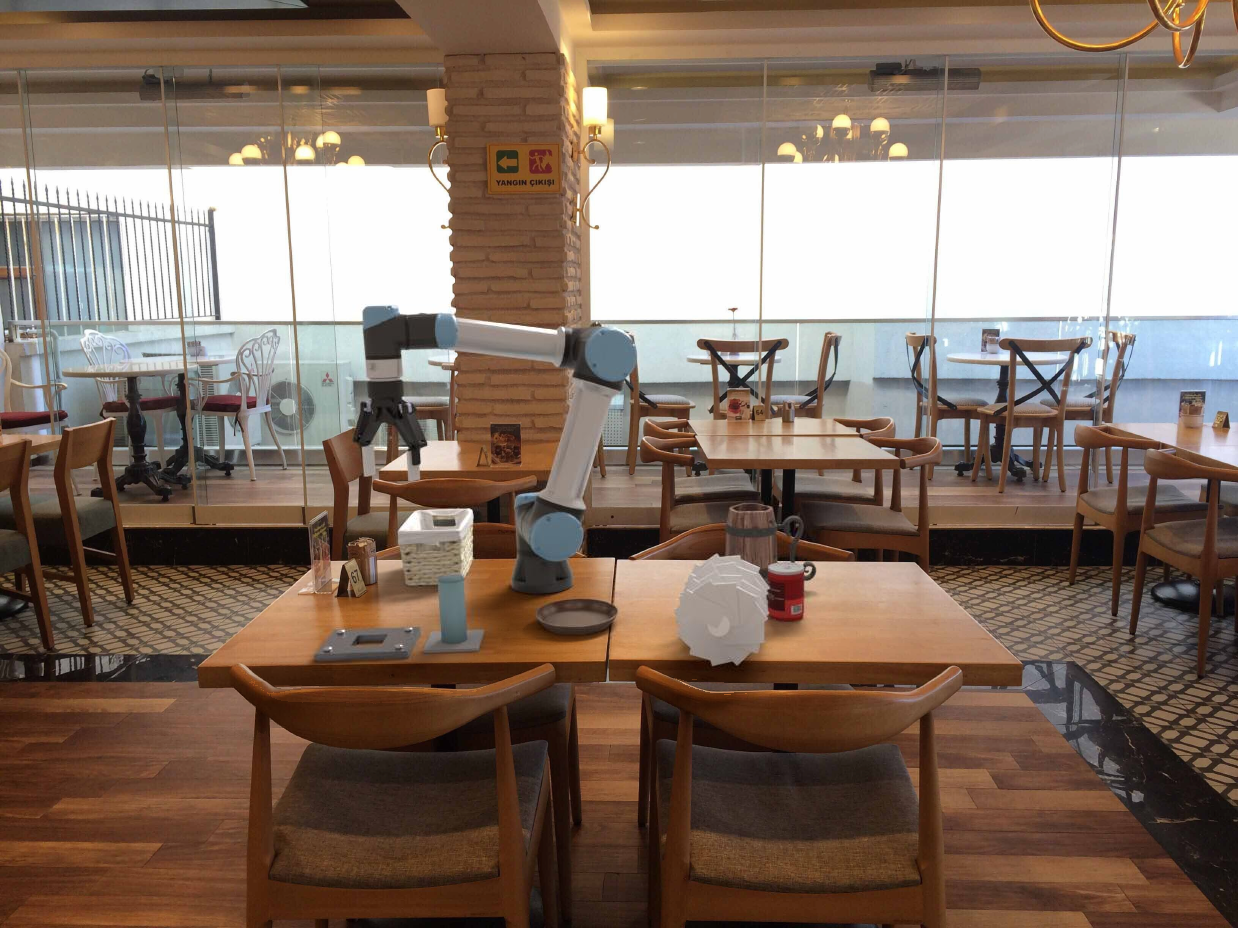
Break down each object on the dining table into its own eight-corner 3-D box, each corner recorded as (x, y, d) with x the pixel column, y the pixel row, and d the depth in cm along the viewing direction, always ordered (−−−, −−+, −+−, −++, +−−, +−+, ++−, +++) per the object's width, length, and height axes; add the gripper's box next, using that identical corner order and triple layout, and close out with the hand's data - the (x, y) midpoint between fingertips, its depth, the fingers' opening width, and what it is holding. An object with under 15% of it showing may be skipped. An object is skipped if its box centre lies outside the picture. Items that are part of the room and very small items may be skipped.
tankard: (717, 601, 214) (716, 516, 211) (713, 580, 231) (712, 500, 227) (821, 600, 213) (822, 514, 209) (810, 579, 229) (810, 498, 226)
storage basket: (464, 586, 231) (461, 528, 229) (398, 588, 231) (394, 530, 228) (477, 560, 255) (474, 507, 252) (417, 562, 255) (414, 509, 252)
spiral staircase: (746, 647, 196) (743, 689, 172) (670, 609, 198) (656, 646, 173) (785, 570, 193) (787, 602, 169) (707, 533, 195) (698, 559, 170)
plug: (468, 634, 195) (465, 574, 193) (465, 643, 190) (461, 581, 188) (443, 635, 195) (439, 574, 193) (439, 644, 190) (435, 582, 188)
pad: (484, 632, 198) (484, 629, 198) (478, 651, 187) (478, 648, 187) (432, 633, 198) (431, 631, 198) (422, 653, 187) (422, 650, 187)
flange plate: (420, 633, 198) (419, 624, 198) (407, 658, 184) (407, 648, 184) (334, 636, 198) (333, 627, 197) (315, 661, 184) (314, 651, 184)
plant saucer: (624, 635, 195) (624, 621, 194) (539, 642, 192) (538, 628, 191) (611, 608, 212) (611, 595, 211) (533, 614, 209) (532, 601, 209)
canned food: (806, 611, 205) (806, 562, 204) (801, 623, 198) (801, 573, 196) (771, 608, 208) (771, 560, 206) (764, 620, 200) (764, 570, 199)
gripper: (331, 379, 203) (338, 476, 206) (414, 382, 189) (420, 485, 193) (358, 376, 209) (365, 470, 212) (440, 379, 195) (446, 479, 199)
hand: (391, 478), depth 203 cm, fingers open, 13 cm apart
